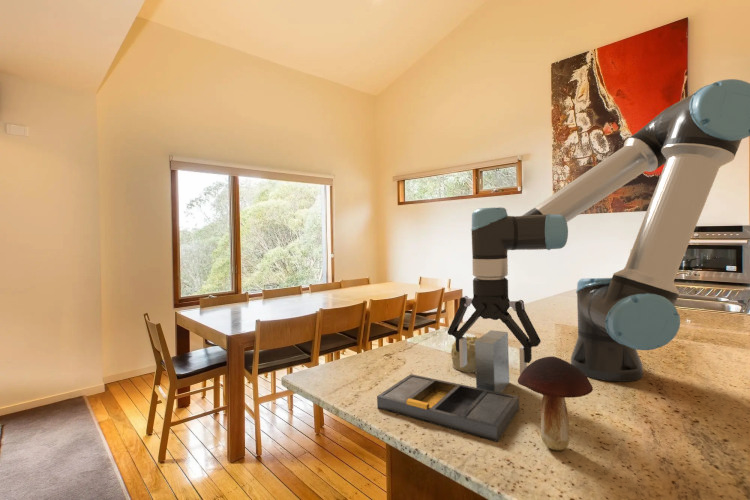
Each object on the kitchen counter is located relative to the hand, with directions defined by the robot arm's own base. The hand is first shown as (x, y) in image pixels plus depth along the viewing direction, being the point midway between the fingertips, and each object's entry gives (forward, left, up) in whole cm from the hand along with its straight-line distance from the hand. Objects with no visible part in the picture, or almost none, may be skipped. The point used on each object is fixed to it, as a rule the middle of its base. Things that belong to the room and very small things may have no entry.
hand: (492, 370), depth 85 cm
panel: (0, 0, -4) cm, 4 cm away
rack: (+5, +14, -4) cm, 15 cm away
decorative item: (+10, -11, -4) cm, 15 cm away
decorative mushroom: (-16, +18, -4) cm, 25 cm away
